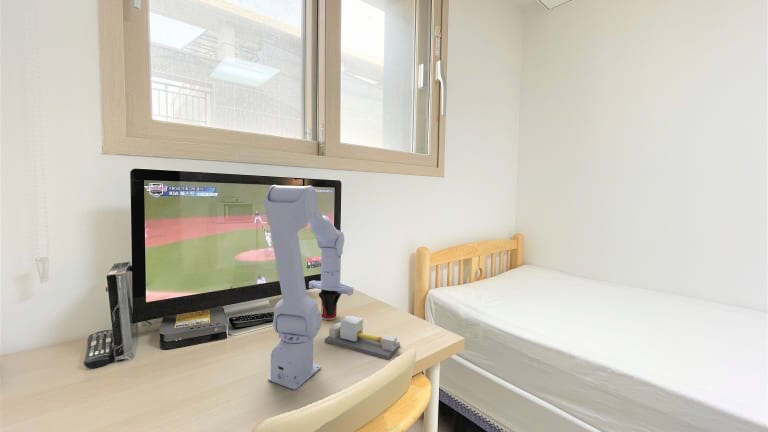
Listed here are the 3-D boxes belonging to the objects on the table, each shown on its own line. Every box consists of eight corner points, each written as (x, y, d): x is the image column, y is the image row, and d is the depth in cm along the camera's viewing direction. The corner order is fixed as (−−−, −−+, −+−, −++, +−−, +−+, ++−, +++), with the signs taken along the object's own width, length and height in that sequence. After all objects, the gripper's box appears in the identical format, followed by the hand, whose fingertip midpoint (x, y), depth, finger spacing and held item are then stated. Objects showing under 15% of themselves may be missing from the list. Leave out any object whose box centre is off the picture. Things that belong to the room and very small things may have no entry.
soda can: (338, 314, 105) (338, 281, 105) (334, 321, 100) (334, 285, 99) (323, 313, 106) (324, 280, 105) (319, 320, 101) (319, 284, 100)
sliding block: (355, 341, 84) (355, 323, 83) (340, 337, 86) (340, 320, 85) (362, 335, 87) (363, 318, 87) (347, 331, 89) (348, 315, 89)
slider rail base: (392, 360, 77) (393, 346, 77) (324, 342, 86) (324, 329, 85) (403, 346, 84) (404, 333, 84) (339, 330, 93) (340, 319, 93)
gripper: (358, 270, 89) (358, 314, 90) (319, 264, 95) (318, 306, 96) (346, 275, 83) (345, 323, 84) (304, 269, 89) (304, 313, 90)
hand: (330, 314), depth 89 cm, fingers closed
